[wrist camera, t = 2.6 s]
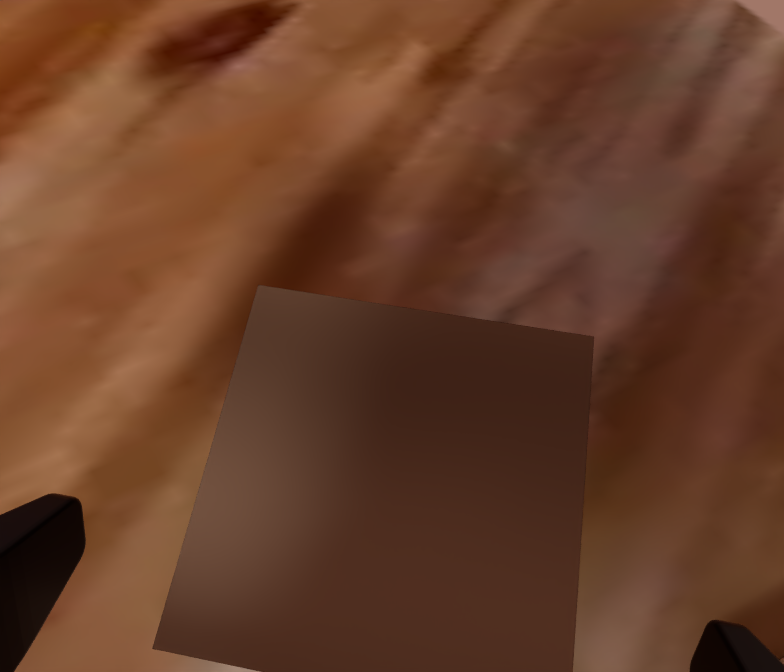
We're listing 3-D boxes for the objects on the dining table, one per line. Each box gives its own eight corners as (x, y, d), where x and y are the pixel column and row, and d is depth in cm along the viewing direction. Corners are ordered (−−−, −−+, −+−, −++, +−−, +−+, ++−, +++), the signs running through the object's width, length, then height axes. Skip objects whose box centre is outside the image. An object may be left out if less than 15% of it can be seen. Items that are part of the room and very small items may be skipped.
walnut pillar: (477, 655, 16) (568, 736, 7) (292, 618, 17) (151, 648, 8) (499, 466, 18) (593, 336, 9) (332, 437, 19) (258, 284, 9)
